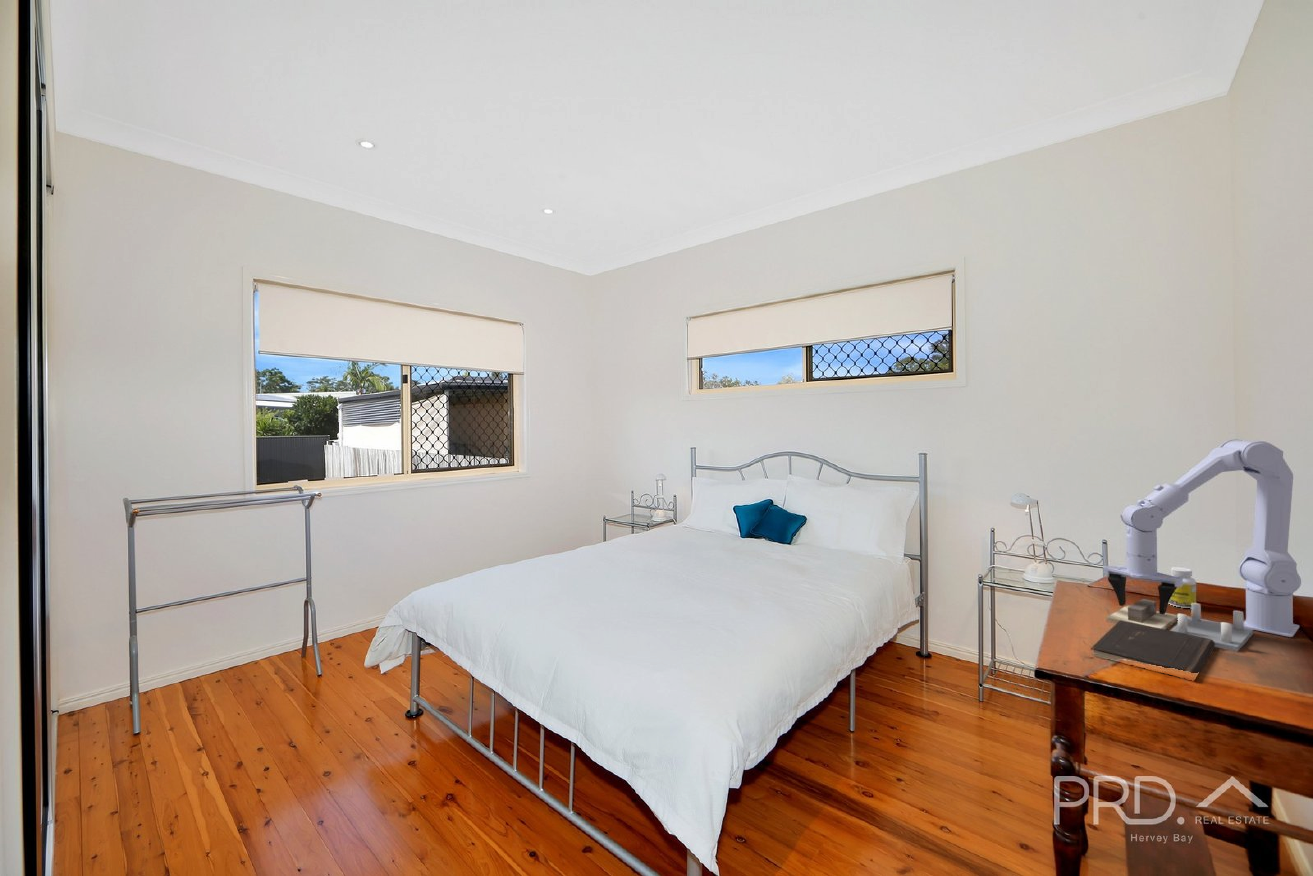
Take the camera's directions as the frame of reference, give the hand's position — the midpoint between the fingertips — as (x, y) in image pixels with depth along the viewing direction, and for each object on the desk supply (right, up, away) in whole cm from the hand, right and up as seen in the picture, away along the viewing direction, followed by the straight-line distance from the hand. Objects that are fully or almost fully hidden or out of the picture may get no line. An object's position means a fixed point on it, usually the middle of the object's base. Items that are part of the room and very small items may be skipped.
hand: (1142, 609), depth 134 cm
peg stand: (+7, -3, -10) cm, 12 cm away
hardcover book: (-13, -5, -17) cm, 21 cm away
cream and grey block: (0, -3, 0) cm, 3 cm away
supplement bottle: (+18, -2, +8) cm, 19 cm away
